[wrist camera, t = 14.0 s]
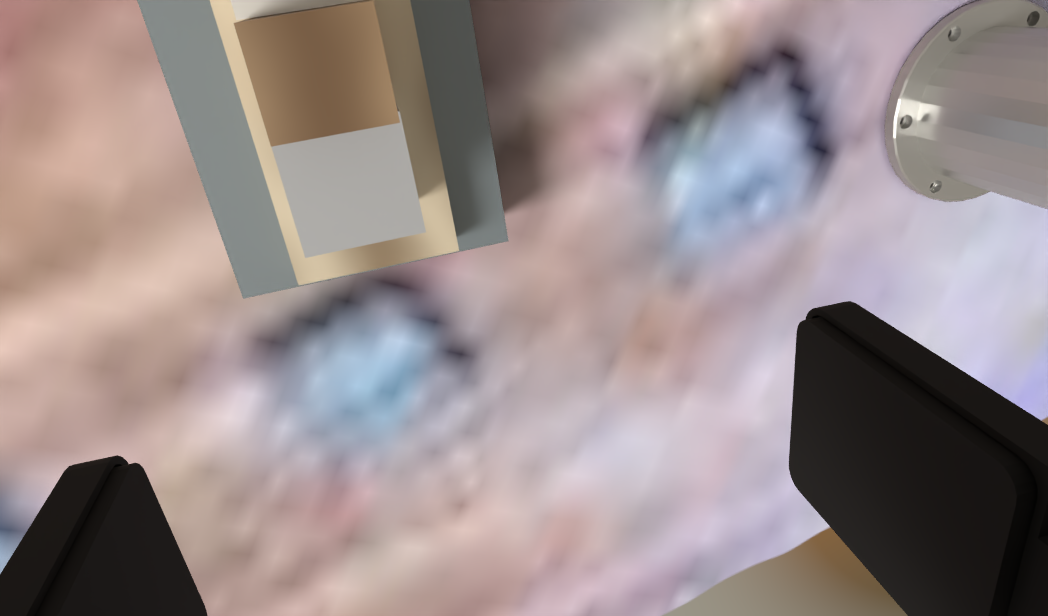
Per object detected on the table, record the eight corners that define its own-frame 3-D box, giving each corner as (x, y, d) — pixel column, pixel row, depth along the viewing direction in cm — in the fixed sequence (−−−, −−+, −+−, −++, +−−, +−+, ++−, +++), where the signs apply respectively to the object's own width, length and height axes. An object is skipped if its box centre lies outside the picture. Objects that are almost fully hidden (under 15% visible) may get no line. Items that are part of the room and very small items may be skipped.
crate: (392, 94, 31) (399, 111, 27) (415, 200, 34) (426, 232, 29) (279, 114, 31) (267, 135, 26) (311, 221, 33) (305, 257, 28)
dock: (416, -240, 32) (425, -269, 28) (494, 219, 41) (508, 241, 38) (90, -203, 30) (55, -229, 26) (252, 270, 39) (243, 298, 36)
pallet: (362, -225, 28) (368, -317, 20) (453, 238, 37) (485, 311, 28) (155, -201, 27) (68, -288, 19) (301, 270, 36) (286, 357, 27)
